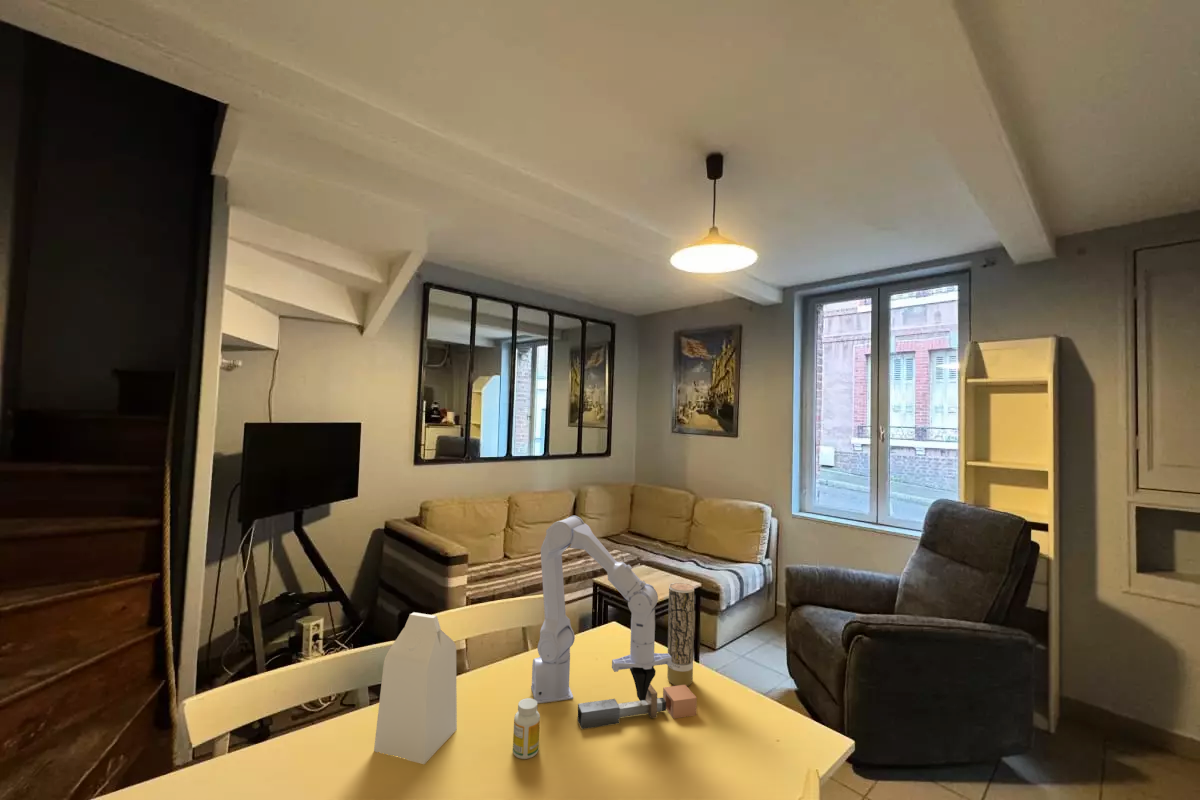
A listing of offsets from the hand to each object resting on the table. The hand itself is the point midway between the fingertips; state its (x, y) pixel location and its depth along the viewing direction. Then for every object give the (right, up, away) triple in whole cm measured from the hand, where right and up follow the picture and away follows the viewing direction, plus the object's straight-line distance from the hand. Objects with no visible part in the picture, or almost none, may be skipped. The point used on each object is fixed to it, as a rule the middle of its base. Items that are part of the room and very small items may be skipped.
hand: (641, 698), depth 113 cm
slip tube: (-3, -4, -1) cm, 5 cm away
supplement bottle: (-25, -3, -14) cm, 29 cm away
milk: (-49, -2, -11) cm, 50 cm away
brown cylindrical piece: (+12, -6, +16) cm, 20 cm away
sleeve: (-10, -3, -3) cm, 11 cm away
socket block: (+9, -4, +3) cm, 11 cm away
